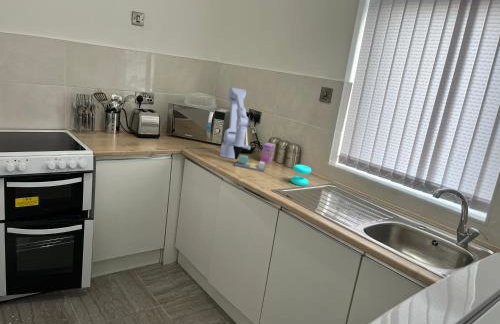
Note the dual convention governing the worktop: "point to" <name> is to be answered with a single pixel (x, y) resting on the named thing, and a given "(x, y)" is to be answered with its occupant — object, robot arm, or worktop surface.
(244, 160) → the sleeve
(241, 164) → the board
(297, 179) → the donuts
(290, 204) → the worktop surface
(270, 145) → the box
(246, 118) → the robot arm
